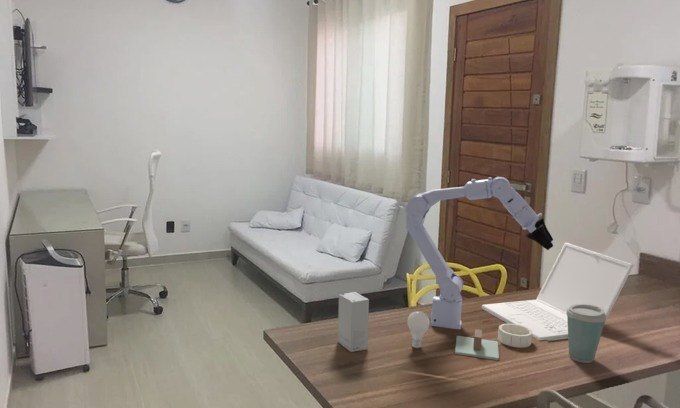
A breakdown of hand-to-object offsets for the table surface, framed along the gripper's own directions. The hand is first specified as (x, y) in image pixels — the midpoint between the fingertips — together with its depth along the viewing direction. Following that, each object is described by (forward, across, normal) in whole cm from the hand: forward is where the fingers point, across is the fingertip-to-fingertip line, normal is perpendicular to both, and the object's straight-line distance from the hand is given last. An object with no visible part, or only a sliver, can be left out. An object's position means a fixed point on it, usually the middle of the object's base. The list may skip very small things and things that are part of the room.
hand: (550, 244), depth 170 cm
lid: (+8, -18, +33) cm, 38 cm away
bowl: (+16, -6, +26) cm, 31 cm away
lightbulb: (-3, -24, +44) cm, 51 cm away
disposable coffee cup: (+29, -9, +13) cm, 33 cm away
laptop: (+24, +20, +20) cm, 37 cm away
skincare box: (-15, -31, +57) cm, 66 cm away
